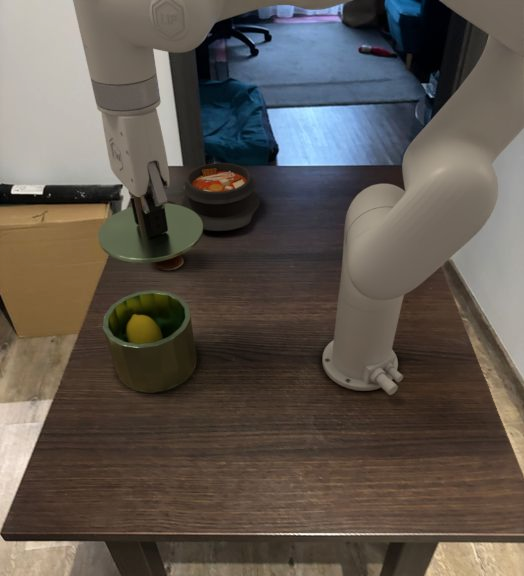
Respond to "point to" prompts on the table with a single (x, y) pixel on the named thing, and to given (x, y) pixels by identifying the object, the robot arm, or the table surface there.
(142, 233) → the tin lid
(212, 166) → the casserole
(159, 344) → the tin
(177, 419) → the table surface
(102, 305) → the table surface
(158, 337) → the lemon
